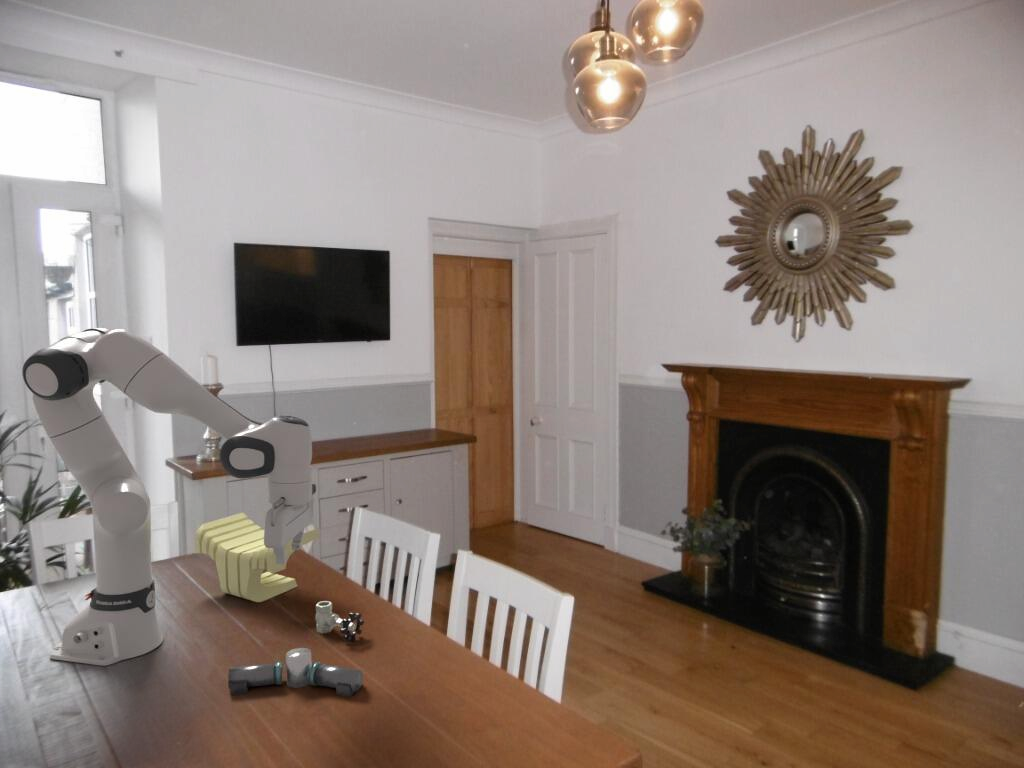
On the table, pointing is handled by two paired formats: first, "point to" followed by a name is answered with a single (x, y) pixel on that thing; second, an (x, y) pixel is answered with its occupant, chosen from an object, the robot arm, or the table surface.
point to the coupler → (298, 667)
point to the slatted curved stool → (245, 557)
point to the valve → (336, 621)
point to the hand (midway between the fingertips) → (289, 556)
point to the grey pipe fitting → (254, 676)
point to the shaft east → (336, 678)
